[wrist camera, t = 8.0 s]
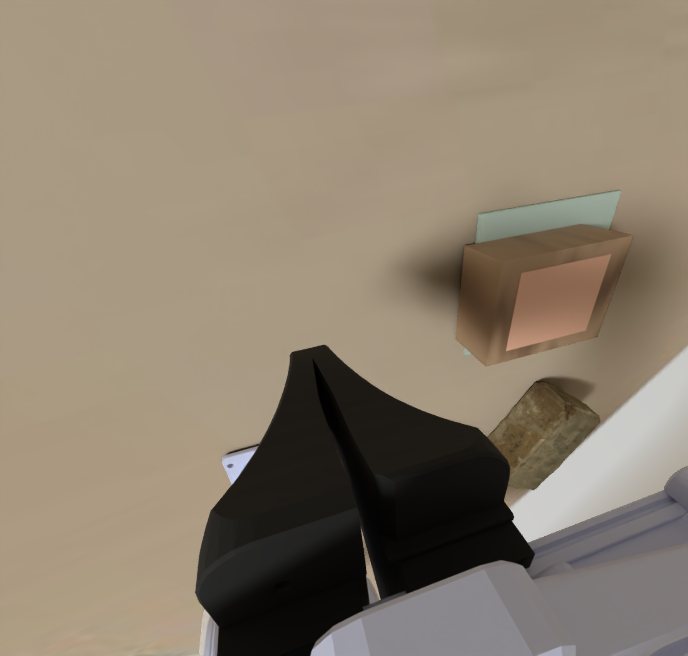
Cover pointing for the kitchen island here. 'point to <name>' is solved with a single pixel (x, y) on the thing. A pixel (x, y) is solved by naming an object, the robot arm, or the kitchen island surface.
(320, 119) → the kitchen island surface
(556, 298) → the walnut block
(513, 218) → the mat
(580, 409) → the stone block
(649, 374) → the kitchen island surface
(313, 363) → the robot arm
